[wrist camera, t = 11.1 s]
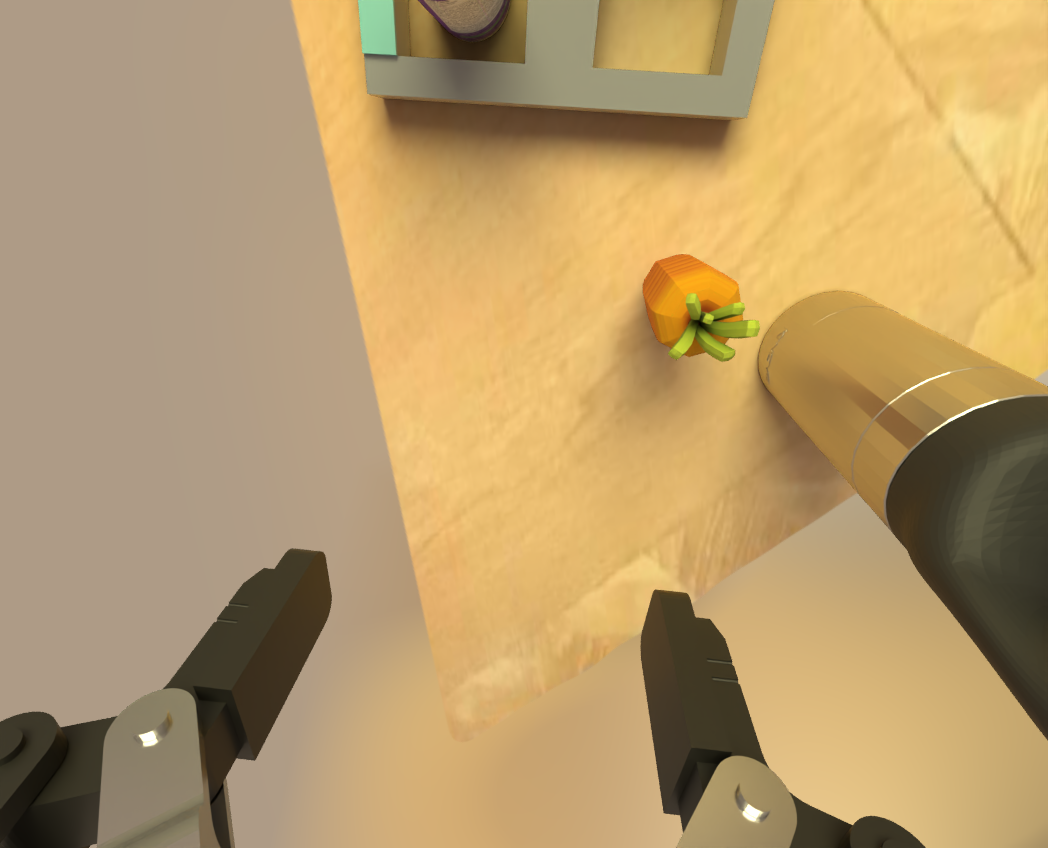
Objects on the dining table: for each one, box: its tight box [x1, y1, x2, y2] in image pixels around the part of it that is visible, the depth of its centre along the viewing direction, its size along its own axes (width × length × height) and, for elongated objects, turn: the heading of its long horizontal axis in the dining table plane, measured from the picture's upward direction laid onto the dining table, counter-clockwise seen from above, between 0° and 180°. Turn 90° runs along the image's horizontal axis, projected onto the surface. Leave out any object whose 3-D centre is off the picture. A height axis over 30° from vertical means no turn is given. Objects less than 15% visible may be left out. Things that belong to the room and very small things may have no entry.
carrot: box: [643, 254, 760, 362], centre depth 29 cm, size 5×5×15 cm
